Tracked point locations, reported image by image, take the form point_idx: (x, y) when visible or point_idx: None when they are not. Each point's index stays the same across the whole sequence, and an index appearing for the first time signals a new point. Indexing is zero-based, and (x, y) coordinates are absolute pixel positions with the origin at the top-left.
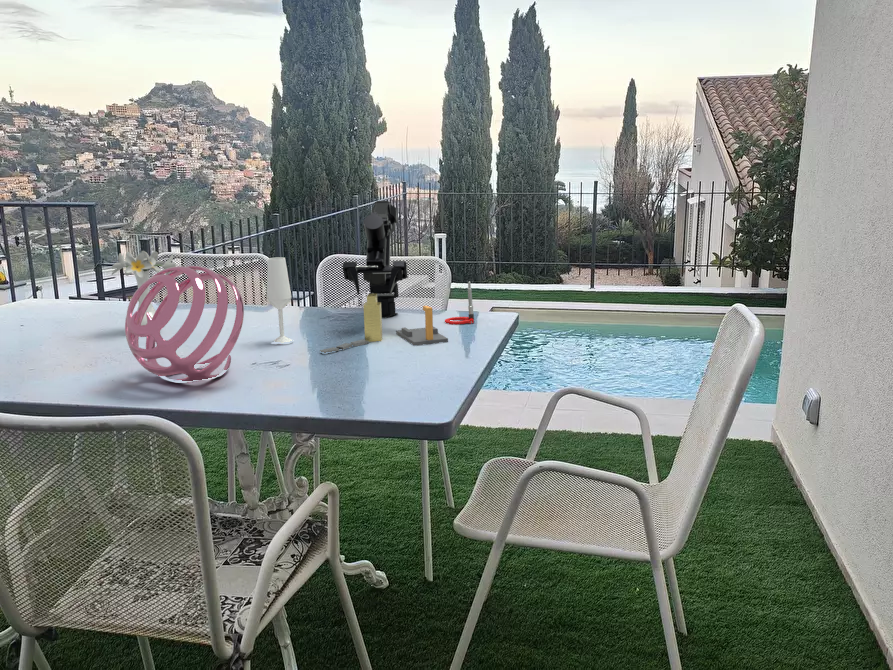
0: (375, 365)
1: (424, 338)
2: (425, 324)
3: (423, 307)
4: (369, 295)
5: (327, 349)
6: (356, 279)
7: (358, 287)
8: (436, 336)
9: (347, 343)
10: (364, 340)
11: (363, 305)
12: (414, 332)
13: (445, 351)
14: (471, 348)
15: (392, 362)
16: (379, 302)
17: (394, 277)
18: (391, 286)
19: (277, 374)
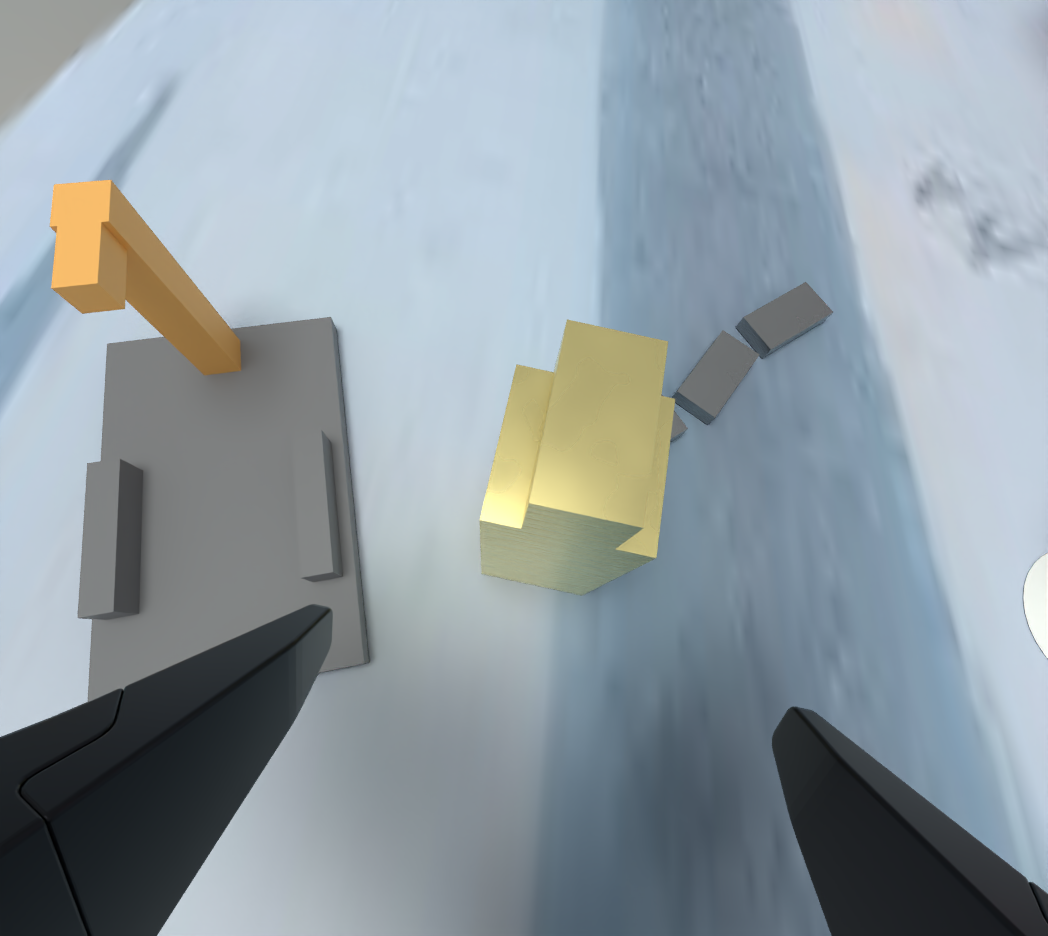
0: (572, 98)
1: (244, 381)
2: (193, 315)
3: (106, 278)
4: (635, 396)
5: (796, 313)
6: (1016, 908)
7: (840, 758)
8: (152, 411)
9: (703, 403)
10: None
11: (674, 400)
12: (251, 563)
13: (219, 193)
14: None
15: (500, 113)
16: (499, 504)
17: (30, 730)
18: (249, 634)
19: (925, 102)
